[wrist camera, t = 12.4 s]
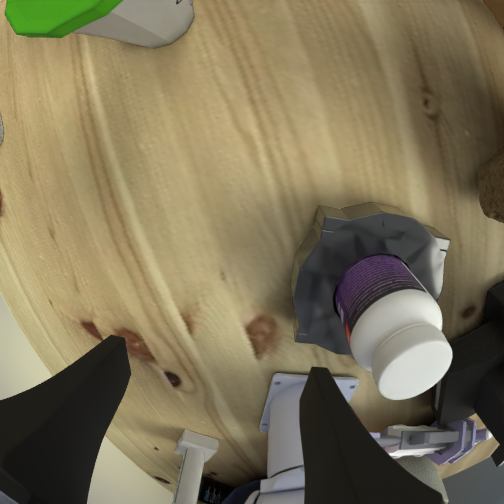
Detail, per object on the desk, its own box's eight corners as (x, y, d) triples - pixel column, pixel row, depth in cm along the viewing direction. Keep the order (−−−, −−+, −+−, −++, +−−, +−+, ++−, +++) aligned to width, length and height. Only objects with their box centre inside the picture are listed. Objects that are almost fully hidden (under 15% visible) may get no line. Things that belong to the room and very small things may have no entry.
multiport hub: (194, 476, 35) (204, 476, 34) (241, 496, 38) (251, 495, 37) (188, 499, 31) (197, 500, 30) (237, 516, 34) (247, 516, 33)
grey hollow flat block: (400, 337, 22) (410, 356, 20) (279, 328, 22) (280, 350, 20) (445, 218, 18) (463, 230, 16) (307, 189, 18) (313, 199, 16)
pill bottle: (313, 283, 20) (339, 390, 11) (365, 225, 19) (433, 306, 10) (363, 319, 21) (402, 418, 12) (412, 269, 20) (479, 354, 11)
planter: (339, 477, 33) (345, 535, 23) (396, 439, 29) (413, 507, 19) (392, 478, 35) (402, 527, 25) (445, 442, 30) (463, 495, 20)
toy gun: (508, 407, 25) (468, 417, 31) (388, 398, 21) (337, 407, 28) (505, 452, 21) (464, 458, 27) (376, 476, 17) (325, 469, 23)
